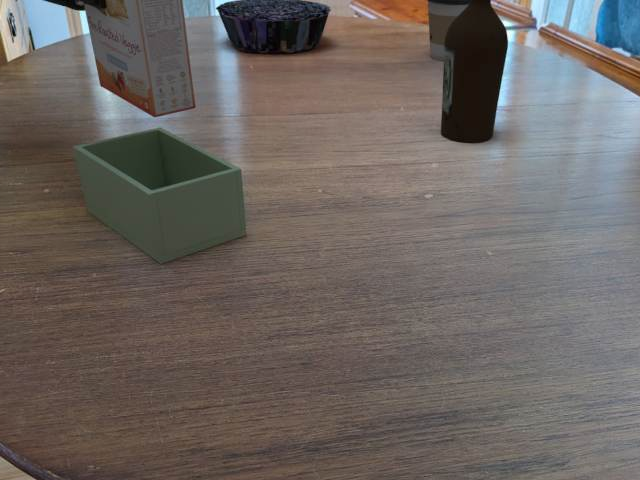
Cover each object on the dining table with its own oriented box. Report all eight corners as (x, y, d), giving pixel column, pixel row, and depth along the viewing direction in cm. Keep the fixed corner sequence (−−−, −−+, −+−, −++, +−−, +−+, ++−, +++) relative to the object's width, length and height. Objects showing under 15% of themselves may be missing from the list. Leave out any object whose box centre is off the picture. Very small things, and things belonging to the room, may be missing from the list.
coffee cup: (421, 50, 179) (426, -18, 170) (467, 52, 179) (474, -16, 170) (422, 62, 170) (426, -9, 161) (470, 64, 170) (477, -7, 161)
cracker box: (97, 88, 91) (57, -111, 78) (141, 80, 94) (110, -112, 81) (151, 120, 83) (117, -97, 70) (197, 110, 86) (173, -99, 73)
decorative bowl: (222, 40, 187) (215, -3, 181) (327, 31, 191) (324, -11, 185) (222, 65, 167) (215, 19, 161) (340, 55, 171) (337, 9, 165)
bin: (160, 264, 88) (149, 194, 83) (87, 211, 99) (72, 146, 94) (246, 235, 95) (241, 168, 90) (169, 188, 106) (160, 127, 101)
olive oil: (492, 125, 135) (511, -27, 120) (499, 145, 126) (521, -16, 111) (435, 123, 135) (447, -29, 120) (439, 143, 126) (452, -18, 111)
